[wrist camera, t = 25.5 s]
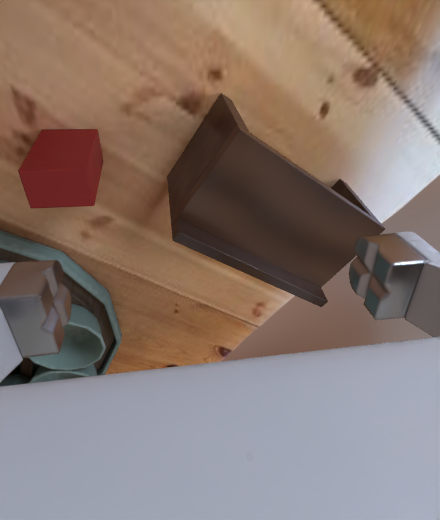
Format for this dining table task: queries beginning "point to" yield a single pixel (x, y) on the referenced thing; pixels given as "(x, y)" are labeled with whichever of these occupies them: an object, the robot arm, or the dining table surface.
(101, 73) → the dining table surface
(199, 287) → the dining table surface
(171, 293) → the dining table surface
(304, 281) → the shelf
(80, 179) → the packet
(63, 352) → the tea set
